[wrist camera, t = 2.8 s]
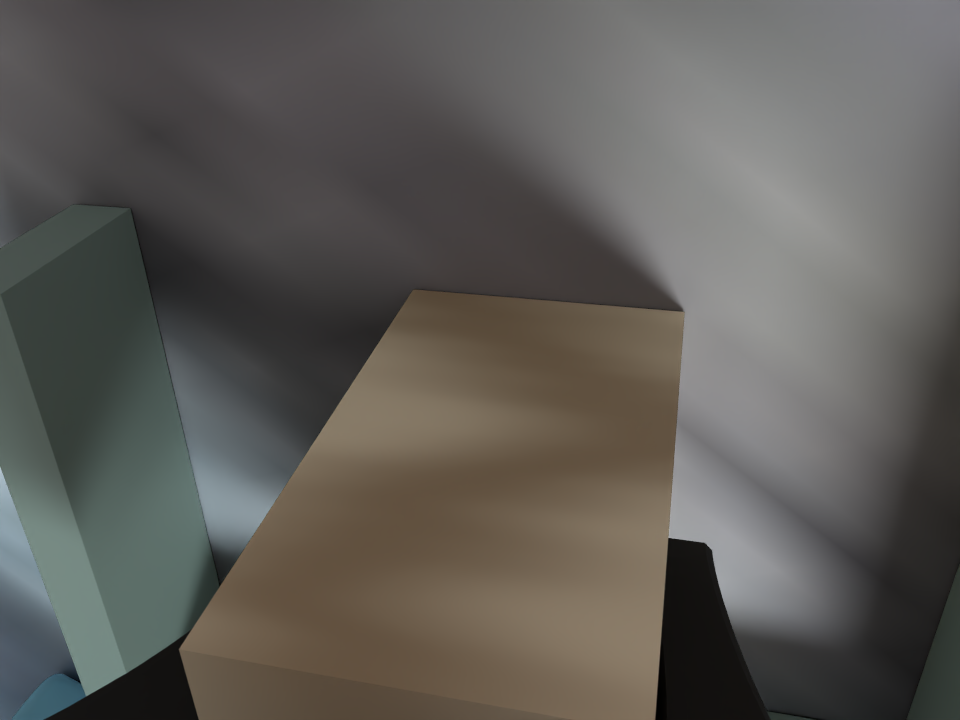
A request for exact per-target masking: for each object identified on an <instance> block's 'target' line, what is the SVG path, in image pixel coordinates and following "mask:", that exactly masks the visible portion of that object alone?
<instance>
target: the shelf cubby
mask: <svg viewBox="0 0 960 720" xmlns="http://www.w3.org/2000/svg"><path fill="white" fill-rule="evenodd" d="M0 467H1V470H2V473H3V475H4V478H5V481H6V483H7V486H8V489H9V491H10V494H11V497H12V499H13V502H14V505H15V507H16V510H17V513H18V515H19V518H20V521H21V523H22V526H23V529H24V531H25V534H26V537H27V539H28V542H29V545H30V547H31V550H32V553H33V555H34V558H35V561H36V563H37V566H38V569H39V572H40V574H41V577H42V580H43V582H44V585H45V588H46V590H47V593H48V596H49V598H50V601H51V604H52V606H53V609H54V612H55V614H56V617H57V620H58V622H59V625H60V628H61V630H62V633H63V636H64V638H65V641H66V644H67V646H68V649H69V652H70V654H71V657H72V660H73V662H74V665H75V668H76V671H77V673H78V676H79V679H80V681H81V684H82V687H83V689H84V692H85V695H86V696H88V695H90V694H91V693H93V692H95V691H96V690H98V689H100V688H102V687H103V686H105V685H107V684H109V683H110V682H112V681H114V680H115V679H117V678H119V677H121V676H122V675H124V674H126V673H128V672H129V671H131V670H132V669H134V668H136V667H137V666H139V665H140V664H142V663H143V662H145V661H146V660H148V659H149V658H151V657H152V656H154V655H155V654H157V653H158V652H160V651H161V650H163V649H165V648H166V647H167V646H169V645H170V644H172V643H173V642H175V641H176V640H177V639H179V638H180V637H182V636H183V635H184V634H186V633H187V632H188V631H190V630H191V629H193V627H194V626H195V624H196V622H197V621H198V619H199V618H200V616H201V615H202V613H203V612H204V610H205V609H206V607H207V606H208V604H209V602H210V601H211V599H212V598H213V596H214V595H215V593H216V592H217V590H218V589H219V587H220V586H219V581H218V577H217V573H216V569H215V564H214V560H213V556H212V552H211V547H210V543H209V539H208V535H207V531H206V526H205V522H204V518H203V514H202V509H201V505H200V501H199V497H198V492H197V488H196V484H195V480H194V476H193V471H192V467H191V463H190V459H189V454H188V450H187V446H186V442H185V437H184V433H183V429H182V425H181V420H180V416H179V412H178V408H177V404H176V399H175V395H174V391H173V387H172V382H171V378H170V374H169V370H168V365H167V361H166V357H165V353H164V349H163V344H162V340H161V336H160V332H159V327H158V323H157V319H156V315H155V310H154V306H153V302H152V298H151V293H150V289H149V285H148V281H147V277H146V272H145V268H144V264H143V260H142V255H141V251H140V247H139V243H138V238H137V234H136V230H135V226H134V222H133V217H132V213H131V209H130V208H118V207H103V206H89V205H74V204H73V205H72V206H70V207H68V208H67V209H65V210H63V211H62V212H60V213H58V214H57V215H55V216H53V217H52V218H50V219H48V220H47V221H45V222H43V223H42V224H40V225H38V226H37V227H35V228H33V229H31V230H30V231H28V232H26V233H25V234H23V235H21V236H20V237H18V238H16V239H15V240H13V241H11V242H10V243H8V244H6V245H5V246H3V247H1V248H0ZM767 713H768V715H769V717H770V719H771V720H815V719H809V718H803V717H797V716H791V715H785V714H779V713H773V712H767ZM907 720H960V564H959V567H958V570H957V573H956V576H955V579H954V581H953V584H952V587H951V590H950V593H949V596H948V599H947V602H946V605H945V608H944V611H943V614H942V617H941V620H940V623H939V626H938V628H937V631H936V634H935V637H934V640H933V643H932V646H931V649H930V652H929V655H928V658H927V661H926V664H925V667H924V670H923V673H922V675H921V678H920V681H919V684H918V687H917V690H916V693H915V696H914V699H913V702H912V705H911V708H910V711H909V714H908V717H907Z"/></svg>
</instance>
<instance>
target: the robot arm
mask: <svg viewBox="0 0 960 720" xmlns="http://www.w3.org/2000/svg"><path fill="white" fill-rule="evenodd" d="M191 630H192V629H191ZM191 630H190V631H188V632H187V633H186V634H184V635H183V636H182V637H180V638H179V639H177V640H176V641H175V642H173V643H172V644H170V645H169V646H167V647H166V648H165V649H163V650H161V651H160V652H158V653H157V654H155V655H154V656H152V657H151V658H149V659H148V660H146V661H145V662H143V663H142V664H140V665H139V666H137V667H136V668H134V669H132V670H131V671H129V672H128V673H126V674H124V675H122V676H121V677H119V678H117V679H115V680H114V681H112V682H110V683H109V684H107V685H105V686H103V687H102V688H100V689H98V690H96V691H95V692H93V693H91V694H90V695H88V696H86V697H84V698H83V699H81V700H79V701H77V702H76V703H74V704H72V705H71V706H69V707H67V708H65V709H63V710H61V711H59V712H57V713H56V714H54V715H52V716H50V717H48V718H46V719H44V720H199V719H198V715H197V712H196V708H195V704H194V701H193V697H192V694H191V690H190V687H189V683H188V680H187V676H186V673H185V669H184V665H183V662H182V658H181V655H180V651H179V649H180V647H181V645H182V644H183V642H184V641H185V639H186V638H187V636H188V635H189V633H190V632H191ZM655 720H771V719H770V717H769V715H768V713H767V711H766V708H765V706H764V704H763V702H762V700H761V698H760V696H759V693H758V691H757V689H756V687H755V684H754V682H753V680H752V677H751V675H750V673H749V670H748V667H747V665H746V662H745V660H744V657H743V655H742V652H741V650H740V647H739V645H738V642H737V640H736V637H735V634H734V632H733V629H732V626H731V623H730V620H729V617H728V614H727V611H726V608H725V605H724V601H723V598H722V595H721V591H720V588H719V584H718V580H717V576H716V572H715V567H714V562H713V555H712V550H711V549H710V548H709V547H708V546H707V545H706V544H705V543H701V542H694V541H686V540H679V539H672V538H668V549H667V562H666V576H665V590H664V604H663V618H662V632H661V645H660V659H659V673H658V687H657V701H656V715H655Z"/></svg>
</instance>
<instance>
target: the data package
mask: <svg viewBox="0 0 960 720" xmlns="http://www.w3.org/2000/svg"><path fill="white" fill-rule="evenodd" d="M84 697H86V695H85V692H84V689H83V687H82V684H81V683H79V682H77V681H75V680H74V679H72V678H70V677H68V676H66V675H64V674H55V675H52V676H50V677H49V678H47V679H46V680H45V681H44V682H43V683H42V684H41V685H40V686H39V687H38V688H37V689H36V690H35V691H34V692H33V693H32V694H31V696H30V697H29V698H28V699H27V700H26V702H25V703H24V704H23V705H22V707H21V708H20V709H19V710H18V712H17V713H16V714H15V715H14V717H13V718H12V719H11V720H44V719H46V718H48V717H50V716H52V715H54V714H56V713H57V712H59V711H61V710H63V709H65V708H67V707H69V706H71V705H72V704H74V703H76V702H77V701H79V700H81V699H83V698H84Z"/></svg>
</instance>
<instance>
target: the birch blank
mask: <svg viewBox="0 0 960 720" xmlns="http://www.w3.org/2000/svg"><path fill="white" fill-rule="evenodd" d="M684 313H685V312H679V311H667V310H655V309H643V308H631V307H619V306H607V305H595V304H583V303H571V302H559V301H547V300H535V299H523V298H511V297H499V296H487V295H475V294H463V293H451V292H439V291H427V290H415V289H413V291H412V292H411V294H410V295H409V297H408V298H407V300H406V301H405V303H404V305H403V306H402V308H401V309H400V311H399V312H398V314H397V315H396V317H395V318H394V320H393V321H392V323H391V325H390V326H389V328H388V329H387V331H386V332H385V334H384V335H383V337H382V338H381V340H380V341H379V343H378V344H377V346H376V348H375V349H374V351H373V352H372V354H371V355H370V357H369V358H368V360H367V361H366V363H365V364H364V366H363V368H362V369H361V371H360V372H359V374H358V375H357V377H356V378H355V380H354V381H353V383H352V384H351V386H350V387H349V389H348V391H347V392H346V394H345V395H344V397H343V398H342V400H341V401H340V403H339V404H338V406H337V407H336V409H335V411H334V412H333V414H332V415H331V417H330V418H329V420H328V421H327V423H326V424H325V426H324V427H323V429H322V430H321V432H320V434H319V435H318V437H317V438H316V440H315V441H314V443H313V444H312V446H311V447H310V449H309V450H308V452H307V454H306V455H305V457H304V458H303V460H302V461H301V463H300V464H299V466H298V467H297V469H296V470H295V472H294V473H293V475H292V477H291V478H290V480H289V481H288V483H287V484H286V486H285V487H284V489H283V490H282V492H281V493H280V495H279V497H278V498H277V500H276V501H275V503H274V504H273V506H272V507H271V509H270V510H269V512H268V513H267V515H266V516H265V518H264V520H263V521H262V523H261V524H260V526H259V527H258V529H257V530H256V532H255V533H254V535H253V536H252V538H251V540H250V541H249V543H248V544H247V546H246V547H245V549H244V550H243V552H242V553H241V555H240V556H239V558H238V559H237V561H236V563H235V564H234V566H233V567H232V569H231V570H230V572H229V573H228V575H227V576H226V578H225V579H224V581H223V583H222V584H221V586H220V587H219V589H218V590H217V592H216V593H215V595H214V596H213V598H212V599H211V601H210V602H209V604H208V606H207V607H206V609H205V610H204V612H203V613H202V615H201V616H200V618H199V619H198V621H197V622H196V624H195V626H194V627H193V629H192V630H191V632H190V633H189V635H188V636H187V638H186V639H185V641H184V642H183V644H182V645H181V647H180V649H179V651H180V655H181V658H182V662H183V665H184V669H185V673H186V676H187V680H188V683H189V687H190V690H191V694H192V697H193V701H194V704H195V708H196V712H197V715H198V719H199V720H655V715H656V701H657V687H658V673H659V659H660V645H661V632H662V618H663V604H664V590H665V576H666V562H667V549H668V535H669V521H670V507H671V493H672V479H673V466H674V452H675V438H676V424H677V410H678V396H679V383H680V369H681V355H682V341H683V327H684Z"/></svg>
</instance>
